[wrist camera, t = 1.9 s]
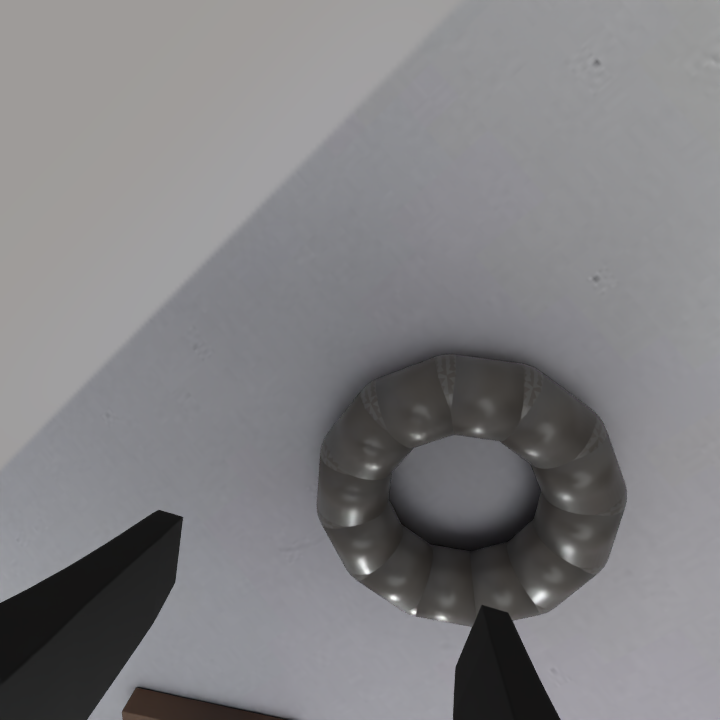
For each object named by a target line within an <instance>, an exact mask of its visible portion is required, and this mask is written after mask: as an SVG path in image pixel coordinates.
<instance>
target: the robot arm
mask: <svg viewBox="0 0 720 720" xmlns="http://www.w3.org/2000/svg"><path fill="white" fill-rule="evenodd" d="M182 521H183V517H181V516H178V515H174V514H171V513H168V512H164V511H161V510H158V511H156V512H154V513H152V514H151V515H149V516H148V517H146V518H145V519H143V520H142V521H140V522H139V523H137V524H135V525H134V526H132V527H131V528H129V529H128V530H126V531H125V532H123V533H122V534H120V535H119V536H117V537H115V538H114V539H112V540H111V541H109V542H108V543H106V544H105V545H103V546H101V547H100V548H98V549H96V550H95V551H93V552H91V553H90V554H88V555H87V556H85V557H83V558H82V559H80V560H78V561H77V562H75V563H73V564H72V565H70V566H68V567H67V568H65V569H63V570H61V571H59V572H58V573H56V574H54V575H52V576H50V577H49V578H47V579H45V580H43V581H41V582H40V583H38V584H36V585H34V586H33V587H31V588H29V589H27V590H25V591H23V592H21V593H19V594H17V595H15V596H13V597H11V598H9V599H7V600H5V601H3V602H1V603H0V720H87V719H88V718H89V716H90V715H91V713H92V712H93V710H94V709H95V707H96V706H97V704H98V703H99V702H100V700H101V699H102V697H103V696H104V694H105V693H106V691H107V690H108V689H109V687H110V686H111V684H112V683H113V681H114V680H115V678H116V677H117V676H118V674H119V673H120V671H121V670H122V668H123V667H124V665H125V664H126V663H127V661H128V660H129V658H130V657H131V655H132V654H133V652H134V651H135V649H136V648H137V646H138V645H139V644H140V642H141V641H142V639H143V638H144V636H145V635H146V633H147V632H148V630H149V629H150V627H151V626H152V624H153V623H154V621H155V619H156V617H157V615H158V614H159V612H160V610H161V608H162V606H163V604H164V603H165V601H166V599H167V597H168V595H169V593H170V591H171V589H172V587H173V585H174V584H175V580H176V571H177V563H178V555H179V546H180V538H181V529H182ZM453 720H560V718H559V716H558V714H557V712H556V710H555V708H554V706H553V704H552V702H551V700H550V698H549V696H548V695H547V693H546V691H545V689H544V687H543V685H542V683H541V681H540V679H539V677H538V675H537V673H536V670H535V668H534V666H533V664H532V662H531V660H530V658H529V656H528V654H527V651H526V649H525V647H524V645H523V643H522V641H521V638H520V636H519V634H518V632H517V630H516V628H515V625H514V623H513V621H512V619H511V617H510V615H509V613H508V612H505V611H502V610H498V609H495V608H491V607H488V606H485V605H481V607H480V610H479V612H478V615H477V617H476V619H475V622H474V624H473V627H472V629H471V631H470V634H469V636H468V639H467V641H466V643H465V646H464V648H463V651H462V653H461V655H460V658H459V660H458V662H457V665H456V670H455V686H454V707H453Z"/></svg>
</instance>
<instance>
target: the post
mask: <svg viewBox="0 0 720 720" xmlns="http://www.w3.org/2000/svg"><path fill="white" fill-rule="evenodd" d="M122 717H123V720H285V719H280V718H276V717H271V716H266V715H262V714H257V713H252V712H248V711H243V710H238V709H234V708H229V707H225V706H220V705H215V704H211V703H206V702H201V701H197V700H192V699H187V698H183V697H178V696H174V695H169V694H164V693H160V692H155V691H150V690H146V689H141V688H135V690H134V692H133V694H132V695H131V697H130V699H129V700H128V702H127V704H126V705H125V707H124V709H123V710H122Z"/></svg>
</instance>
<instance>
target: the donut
mask: <svg viewBox="0 0 720 720" xmlns="http://www.w3.org/2000/svg"><path fill="white" fill-rule="evenodd" d="M451 435H461V436H468V437H474V438H481V439H488V440H494V441H500V442H501V443H503V444H504V445H505V446H507V447H508V448H509V449H511V450H512V451H514V452H515V453H516V454H518V455H519V456H520V457H522V458H523V459H525V460H526V461H527V462H529V463H530V464H531V466H532V469H533V471H534V474H535V476H536V479H537V481H538V484H539V486H540V489H541V494H540V498H539V502H538V505H537V509H536V513H535V517H534V519H533V520H532V521H531V522H530V523H528V524H527V525H526V526H525V527H524V528H523V529H522V530H521V531H520V532H519V533H517V534H516V535H515V536H514V537H513V538H512V539H511V540H510V541H509V542H505V543H501V544H497V545H493V546H489V547H485V548H482V549H478V550H474V551H465V550H459V549H453V548H448V547H442V546H436V545H430V544H429V543H428V542H426V541H425V540H423V539H422V538H420V537H419V536H417V535H416V534H415V533H413V532H412V531H410V530H409V529H407V528H406V527H404V526H403V525H402V524H401V523H400V521H399V519H398V517H397V515H396V513H395V511H394V509H393V507H392V505H391V503H390V501H389V499H388V498H389V490H390V483H391V475H392V472H393V470H394V469H395V468H396V467H397V466H398V465H399V464H400V463H401V462H402V460H403V459H404V458H405V457H406V456H407V455H408V454H409V453H410V452H411V450H412V449H413V448H415V447H418V446H421V445H424V444H427V443H430V442H433V441H436V440H439V439H442V438H445V437H448V436H451ZM626 502H627V490H626V485H625V482H624V479H623V476H622V473H621V470H620V467H619V465H618V462H617V459H616V456H615V453H614V450H613V447H612V445H611V442H610V439H609V436H608V433H607V430H606V428H605V426H604V423H603V422H602V420H601V419H600V417H599V416H598V415H597V414H596V413H595V412H594V411H593V410H592V409H590V408H589V407H588V406H586V405H585V404H584V403H582V402H581V401H580V400H578V399H577V398H576V397H574V396H573V395H572V394H570V393H569V392H568V391H566V390H565V389H564V388H562V387H561V386H559V385H558V384H557V383H555V382H554V381H553V380H551V379H550V378H549V377H547V376H546V375H545V374H543V373H542V372H541V371H539V370H538V369H536V368H534V367H532V366H529V365H526V364H521V363H515V362H507V361H500V360H492V359H485V358H477V357H470V356H462V355H454V354H446V355H440V356H437V357H434V358H431V359H428V360H426V361H423V362H420V363H418V364H415V365H412V366H410V367H407V368H404V369H402V370H399V371H396V372H394V373H391V374H388V375H386V376H383V377H380V378H378V379H375V380H374V381H372V382H370V383H369V384H367V385H366V386H365V387H364V388H363V390H362V391H361V392H360V393H359V394H358V396H357V397H356V398H355V399H354V401H353V402H352V403H351V404H350V406H349V407H348V408H347V409H346V411H345V412H344V413H343V414H342V416H341V417H340V418H339V420H338V421H337V422H336V423H335V425H334V426H333V427H332V428H331V430H330V431H329V432H328V434H327V435H326V437H325V438H324V440H323V443H322V446H321V452H320V464H319V477H318V491H317V513H318V517H319V520H320V522H321V524H322V526H323V528H324V529H325V531H326V533H327V535H328V537H329V539H330V540H331V542H332V544H333V546H334V548H335V550H336V551H337V553H338V555H339V557H340V559H341V561H342V562H343V564H344V566H345V568H346V570H347V571H348V572H349V574H350V575H351V576H352V577H354V578H355V579H356V580H357V581H359V582H360V583H362V584H363V585H365V586H366V587H367V588H369V589H370V590H372V591H373V592H375V593H376V594H378V595H379V596H381V597H382V598H384V599H385V600H387V601H388V602H390V603H391V604H393V605H394V606H396V607H397V608H399V609H400V610H401V611H403V612H405V613H407V614H409V615H412V616H416V617H421V618H427V619H432V620H437V621H443V622H448V623H453V624H458V625H464V626H469V627H473V624H474V622H475V619H476V617H477V615H478V612H479V610H480V607H481V605H485V606H488V607H491V608H495V609H498V610H502V611H505V612H508V613H509V615H510V617H511V619H512V621H514V620H518V619H523V618H528V617H532V616H537V615H541V614H544V613H547V612H549V611H551V610H553V609H554V608H555V607H557V606H558V605H559V604H560V603H562V602H563V601H564V600H565V599H567V598H568V597H569V596H570V595H572V594H573V593H574V592H575V591H577V590H578V589H579V588H580V587H582V586H583V585H584V584H585V583H587V582H588V581H589V580H590V579H592V578H593V577H594V576H595V575H597V574H598V573H599V572H600V571H601V570H602V569H603V568H604V566H605V564H606V563H607V561H608V558H609V555H610V552H611V549H612V546H613V543H614V540H615V537H616V534H617V531H618V528H619V525H620V521H621V518H622V515H623V512H624V509H625V506H626Z"/></svg>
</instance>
